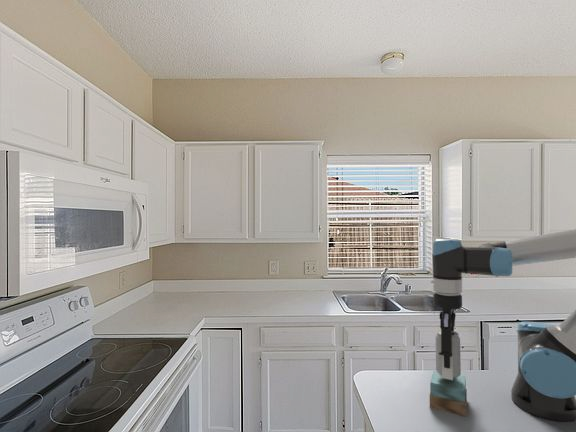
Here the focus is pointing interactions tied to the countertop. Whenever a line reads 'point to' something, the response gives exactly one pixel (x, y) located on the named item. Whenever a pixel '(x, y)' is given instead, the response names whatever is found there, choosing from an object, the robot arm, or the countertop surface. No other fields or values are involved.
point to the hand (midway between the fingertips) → (448, 373)
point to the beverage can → (454, 352)
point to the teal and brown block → (448, 394)
